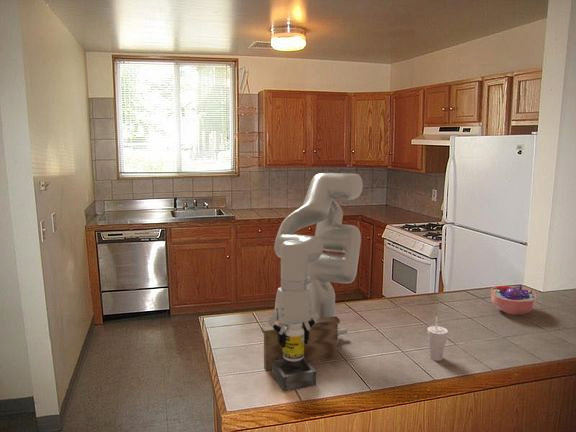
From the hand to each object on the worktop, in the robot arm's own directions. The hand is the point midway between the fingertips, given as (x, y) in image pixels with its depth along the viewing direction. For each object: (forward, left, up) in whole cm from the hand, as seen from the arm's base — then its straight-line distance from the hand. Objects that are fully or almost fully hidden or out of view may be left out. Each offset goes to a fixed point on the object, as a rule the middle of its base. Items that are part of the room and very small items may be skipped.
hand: (293, 343), depth 135 cm
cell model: (-102, -19, -12) cm, 105 cm away
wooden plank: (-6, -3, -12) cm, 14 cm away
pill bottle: (0, 0, -4) cm, 4 cm away
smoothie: (-48, +3, -12) cm, 50 cm away
